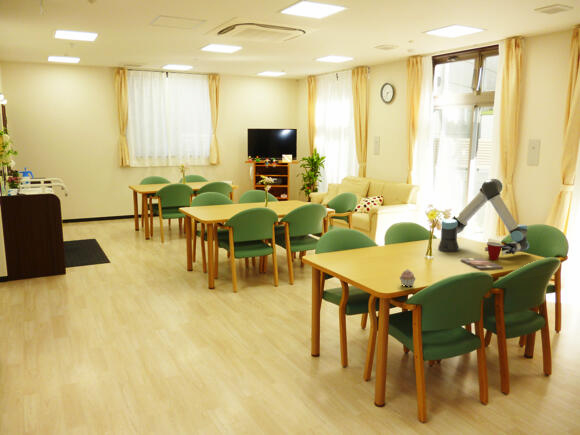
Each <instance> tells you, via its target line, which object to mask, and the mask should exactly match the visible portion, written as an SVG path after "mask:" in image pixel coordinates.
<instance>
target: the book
mask: <svg viewBox="0 0 580 435" xmlns="http://www.w3.org/2000/svg"><path fill="white" fill-rule="evenodd" d="M460 262H462V263H464V264H466V265H468V266H470V267H472V268H474V269H477V270H479V271H488V270H489V269H491V270H502V269H503V268H504V266H502V265H500V264H497V263H496V262H492V261H491V260H489V259H485V258H483V257H480V258H479V257H478V258H475V257H474V258H472V257H471V258H469V257H468V258H462V259H461V258H460ZM489 271H490V270H489Z"/></svg>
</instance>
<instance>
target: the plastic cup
mask: <svg viewBox="0 0 580 435" xmlns="http://www.w3.org/2000/svg"><path fill="white" fill-rule="evenodd" d="M486 244H487V247H488V251H487V253H488V261H494V262H495V261H496V262H497V261H499V258H500V254H501V252H502V251H501V250H502V246H504V244H502V243H499V242H495V241H487V242H486Z"/></svg>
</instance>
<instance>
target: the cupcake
mask: <svg viewBox="0 0 580 435" xmlns="http://www.w3.org/2000/svg"><path fill="white" fill-rule="evenodd" d="M399 279H400V282H401V284H400V285H402V284H403V285H406V286H412V285H413V286H414V284H415V283H414V282H415V281H416V279H417V278H416V277H415V274H414V273H413V271H411V270H410V269H408V268H407V269H406V270H404V271H403V272H402V273H401V275H400V276H399ZM413 286H412V287H413Z"/></svg>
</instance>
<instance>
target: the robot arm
mask: <svg viewBox="0 0 580 435" xmlns="http://www.w3.org/2000/svg"><path fill="white" fill-rule="evenodd" d="M503 187H504V186H503V183H502V181H500V180H499V179H497V178H490V179H487V180H485V181H484V182H483V183H482V186H481V187H480V189H479V192H478V193H477V195H476V196H475V197H474V198H473V199H472V200H471V201H470V202H469V203H468V204H467V205H466V206H465V207H464V208H463V209H462V210H461V212H460V213H459V214H455V215H453V217H452V218H447V219H442V221H441V224H440V225H442V229H441V230H440V231H441V232H440V233H441V234H440V240H439V241H440V242H439V245H438V251H441V252H449V253H454V252H459V251H460V247H459V243H458V240H457V239H458V234H460V233H461V232H463V231H464V229H465V227H466V226H468V222H469V220H470V219H472V218H473V216H474V215H476V213H478V211H479V210H481V208H482V207H484V205H485V204H486V203H487V202H490V204H491V205H492V207H493V208H494V209H495V211H496V213H497V215H498V216H499V218H500V219H501V221H502V223H503V224H504V227H506V229H507V231H508V232H509V235H510V238H511V240H512V241H511V242H508V243H505V245H503V246H502V248H501V251H500V252H501V256H504V255H515V253H519V252H524V251H527V250H528V249H529V248H530V243H529V241H528V238H527V237H528V225H526V224H518V222H517V221H516V219H515V218H514V216H513V215H512V213H511V211H510V210H509V208H508V207H507V205H506V203H505V202H504V200H503V198H502V197H501V195H502V194H501V192H502V191H503ZM484 252H488V246H487V247H484Z"/></svg>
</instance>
